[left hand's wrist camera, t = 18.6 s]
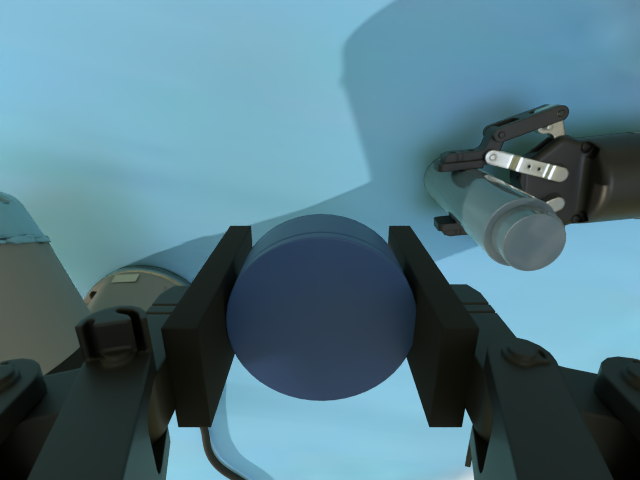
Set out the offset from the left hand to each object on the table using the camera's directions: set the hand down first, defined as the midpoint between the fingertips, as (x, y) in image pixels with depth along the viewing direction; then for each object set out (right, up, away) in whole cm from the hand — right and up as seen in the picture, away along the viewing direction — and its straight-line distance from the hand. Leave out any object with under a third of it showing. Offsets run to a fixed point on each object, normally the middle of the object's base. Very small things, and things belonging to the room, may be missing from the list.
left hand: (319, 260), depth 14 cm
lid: (0, -1, -4) cm, 4 cm away
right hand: (+11, +5, +20) cm, 23 cm away
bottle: (+13, +7, +25) cm, 30 cm away
